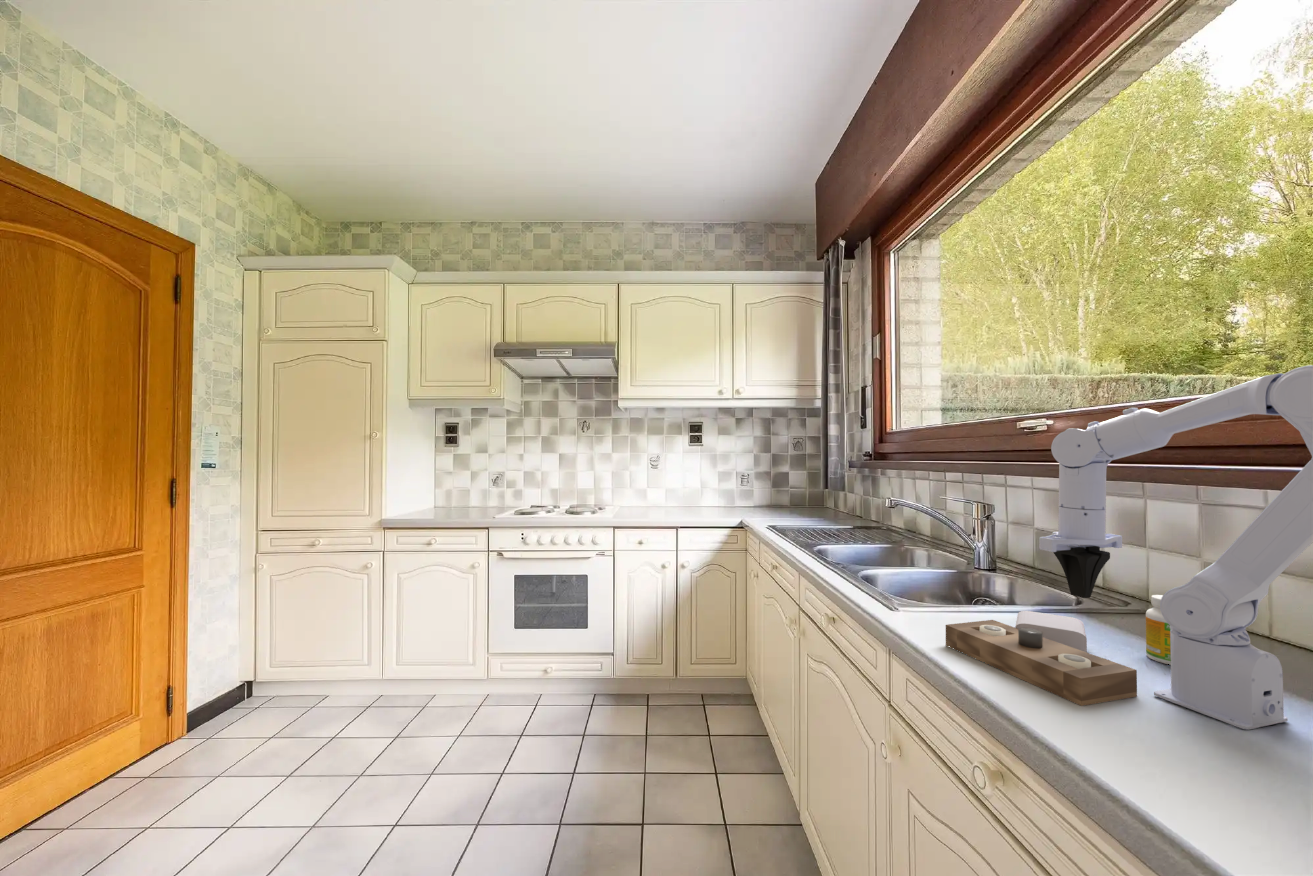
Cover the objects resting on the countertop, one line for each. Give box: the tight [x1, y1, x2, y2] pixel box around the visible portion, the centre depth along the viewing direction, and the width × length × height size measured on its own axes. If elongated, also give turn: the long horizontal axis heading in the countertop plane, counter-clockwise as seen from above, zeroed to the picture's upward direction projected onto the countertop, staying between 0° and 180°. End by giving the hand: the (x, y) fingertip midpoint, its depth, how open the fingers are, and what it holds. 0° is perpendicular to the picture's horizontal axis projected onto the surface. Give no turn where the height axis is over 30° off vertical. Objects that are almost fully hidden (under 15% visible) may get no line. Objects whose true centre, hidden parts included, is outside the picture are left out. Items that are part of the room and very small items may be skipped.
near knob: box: [1058, 654, 1091, 669], centre depth 75 cm, size 4×4×3 cm
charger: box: [1015, 610, 1088, 653], centre depth 93 cm, size 5×9×15 cm
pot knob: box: [1018, 628, 1043, 648], centre depth 81 cm, size 3×3×2 cm
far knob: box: [980, 625, 1006, 637], centre depth 88 cm, size 4×4×3 cm
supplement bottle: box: [1145, 594, 1171, 666], centre depth 85 cm, size 5×5×10 cm
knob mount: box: [945, 619, 1138, 707], centre depth 81 cm, size 22×10×4 cm, turn 16°
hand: (1080, 596), depth 83 cm, fingers closed
